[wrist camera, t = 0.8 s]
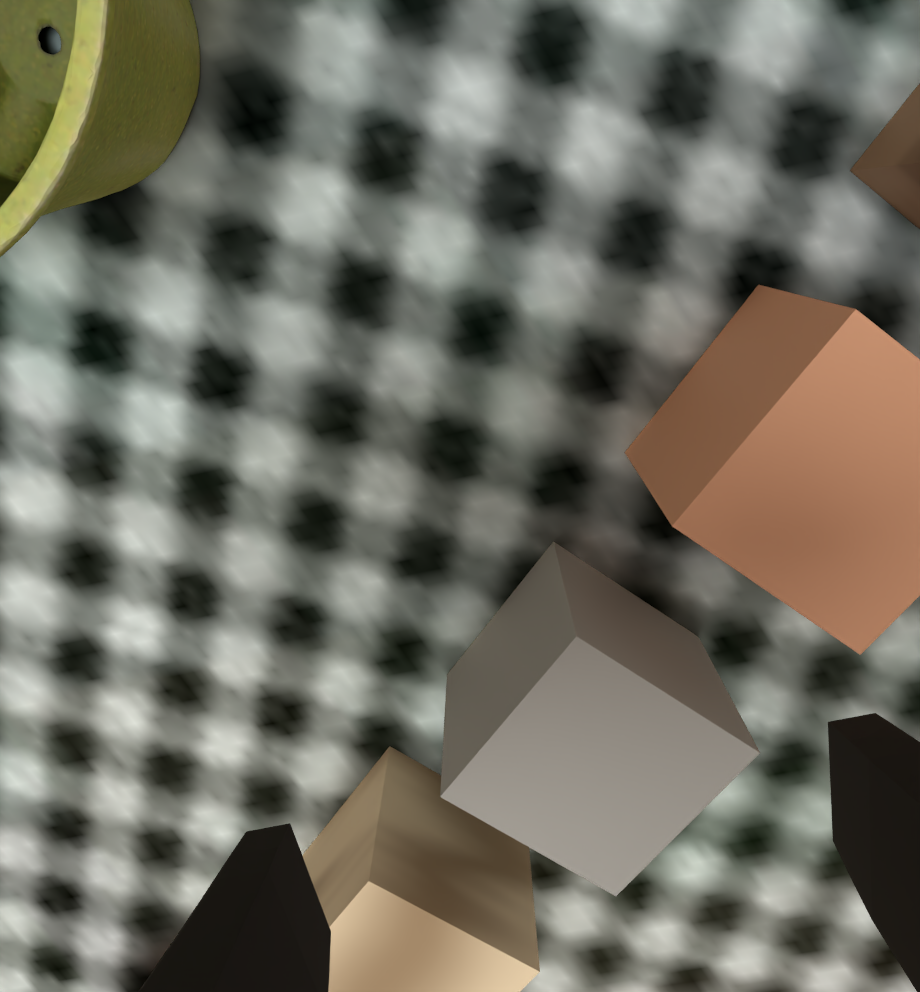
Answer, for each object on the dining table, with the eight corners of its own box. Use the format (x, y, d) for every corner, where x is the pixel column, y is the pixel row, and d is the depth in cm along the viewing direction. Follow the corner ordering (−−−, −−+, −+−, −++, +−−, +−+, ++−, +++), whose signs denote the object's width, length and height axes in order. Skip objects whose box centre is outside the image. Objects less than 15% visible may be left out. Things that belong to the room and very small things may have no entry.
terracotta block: (909, 402, 19) (1051, 463, 15) (771, 554, 21) (860, 654, 16) (757, 284, 18) (855, 308, 14) (624, 451, 20) (671, 526, 15)
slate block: (697, 635, 22) (760, 752, 17) (586, 756, 23) (615, 896, 18) (552, 540, 21) (576, 636, 16) (447, 673, 22) (439, 796, 17)
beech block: (526, 822, 24) (539, 971, 19) (435, 922, 25) (427, 1083, 21) (390, 744, 23) (368, 881, 18) (303, 852, 24) (263, 1004, 20)
